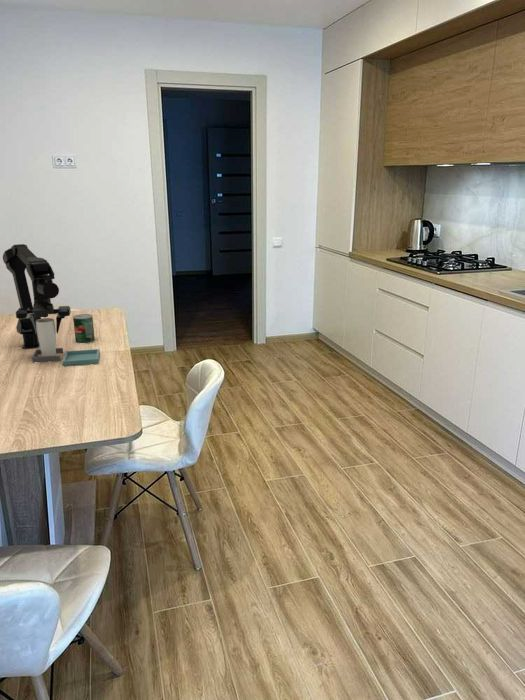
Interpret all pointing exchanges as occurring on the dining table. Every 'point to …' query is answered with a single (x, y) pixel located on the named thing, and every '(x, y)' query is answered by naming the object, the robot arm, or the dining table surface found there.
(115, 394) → the dining table surface
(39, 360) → the dock
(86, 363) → the tray
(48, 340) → the drinking glass
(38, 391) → the dining table surface
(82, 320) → the canned tomato
